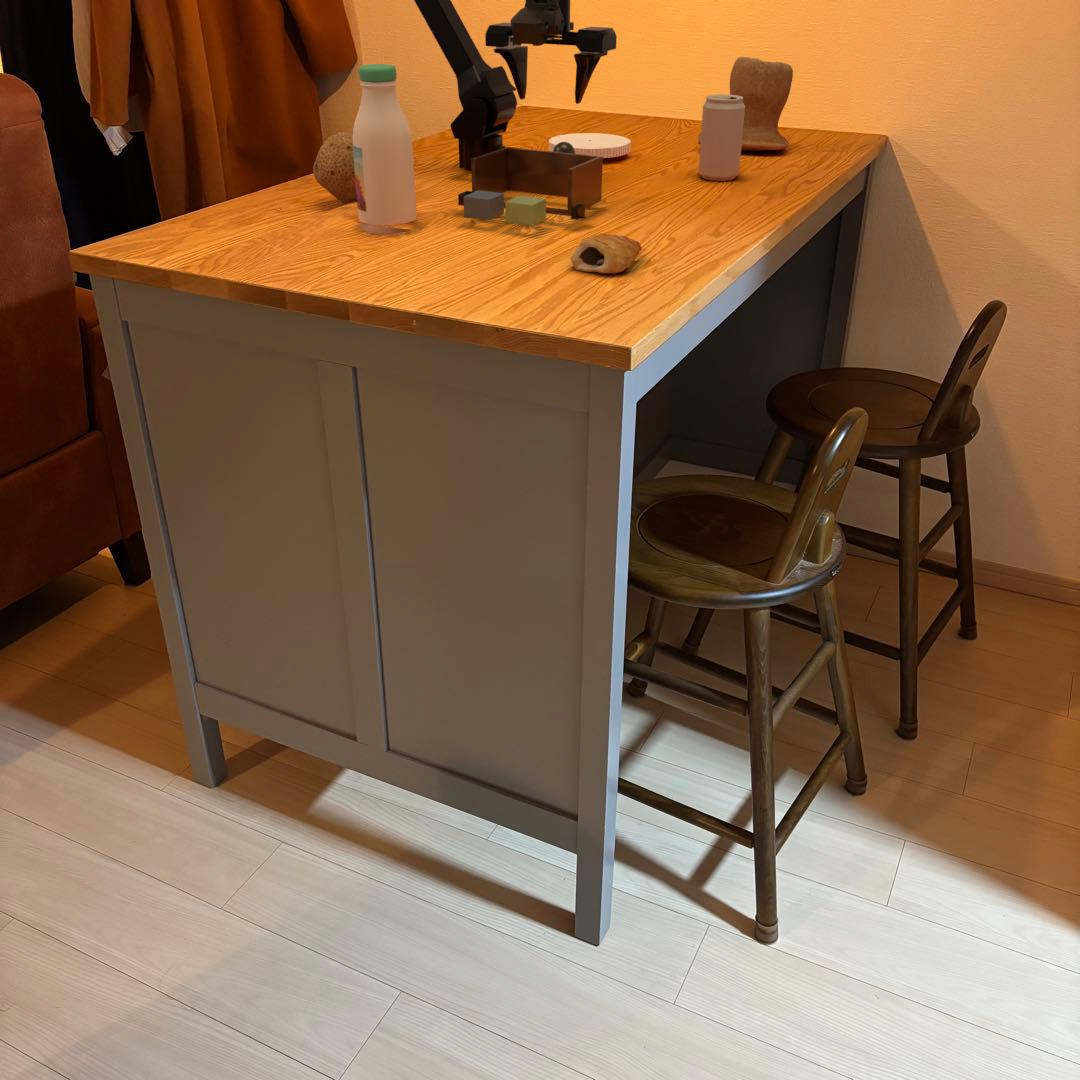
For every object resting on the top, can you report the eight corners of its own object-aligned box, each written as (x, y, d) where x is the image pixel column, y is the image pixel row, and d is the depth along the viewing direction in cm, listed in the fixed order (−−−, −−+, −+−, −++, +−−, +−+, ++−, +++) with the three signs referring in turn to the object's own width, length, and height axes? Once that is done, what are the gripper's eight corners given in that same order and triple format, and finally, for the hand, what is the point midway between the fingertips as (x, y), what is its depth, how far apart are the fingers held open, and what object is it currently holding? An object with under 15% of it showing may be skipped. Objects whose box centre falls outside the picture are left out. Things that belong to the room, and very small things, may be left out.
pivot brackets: (455, 214, 150) (454, 193, 148) (463, 210, 151) (462, 190, 150) (581, 230, 142) (582, 209, 141) (588, 226, 144) (589, 205, 143)
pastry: (608, 251, 134) (609, 220, 132) (655, 260, 131) (657, 229, 129) (566, 269, 127) (567, 236, 125) (614, 279, 124) (616, 246, 122)
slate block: (478, 220, 147) (464, 226, 144) (477, 190, 145) (463, 196, 142) (504, 223, 145) (490, 230, 142) (504, 193, 143) (489, 199, 140)
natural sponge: (305, 209, 152) (296, 135, 147) (336, 195, 159) (329, 124, 154) (362, 215, 149) (355, 139, 144) (391, 200, 156) (386, 128, 151)
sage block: (519, 225, 144) (505, 232, 141) (519, 195, 142) (505, 201, 139) (546, 229, 143) (532, 236, 140) (546, 198, 141) (532, 205, 138)
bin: (472, 212, 150) (470, 152, 146) (521, 191, 162) (522, 135, 158) (571, 225, 144) (572, 163, 140) (615, 202, 156) (617, 144, 152)
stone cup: (791, 145, 192) (801, 54, 185) (784, 158, 183) (795, 62, 175) (707, 140, 196) (714, 50, 188) (696, 152, 186) (703, 58, 179)
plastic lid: (646, 158, 182) (647, 142, 181) (580, 168, 175) (580, 152, 174) (597, 145, 192) (597, 130, 191) (532, 153, 185) (532, 138, 184)
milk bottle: (426, 223, 145) (418, 63, 135) (402, 237, 139) (391, 71, 129) (375, 218, 148) (363, 60, 137) (349, 232, 141) (334, 68, 131)
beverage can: (737, 182, 166) (745, 100, 160) (696, 180, 168) (702, 98, 161) (739, 174, 172) (746, 93, 166) (699, 172, 173) (705, 92, 167)
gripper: (464, -16, 149) (468, 104, 157) (587, -12, 142) (585, 114, 150) (502, -20, 157) (504, 94, 165) (619, -17, 150) (615, 102, 158)
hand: (549, 101), depth 160 cm, fingers open, 9 cm apart
